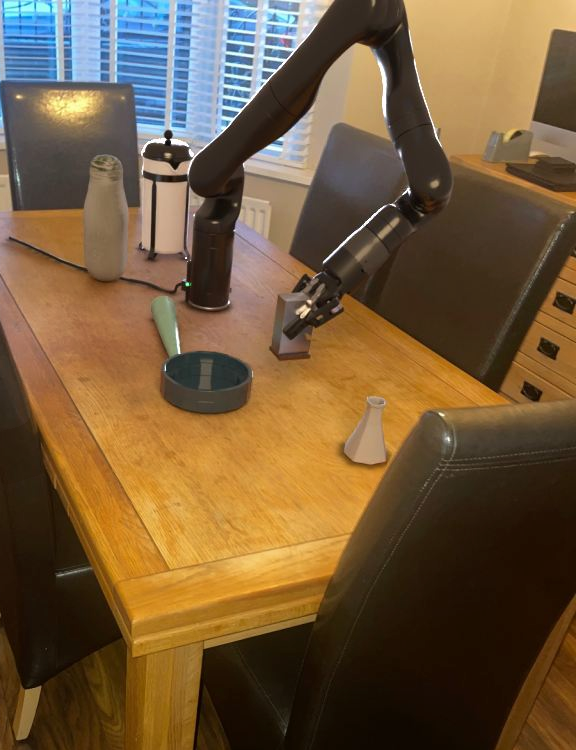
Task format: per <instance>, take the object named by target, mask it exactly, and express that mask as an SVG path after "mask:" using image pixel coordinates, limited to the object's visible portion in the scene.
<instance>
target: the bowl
mask: <svg viewBox="0 0 576 750" xmlns="http://www.w3.org/2000/svg"><path fill="white" fill-rule="evenodd" d="M249 365H250V364H248V363H247V362H246V361H244V360H242V359H240V358H239V357H236V356H233V355H230V354H227V353H224V352H219V351H214V350H213V351H211V350H191V351H189V350H188V351H183V352H181V353H180V354H176V355H174V356H172V357H170V358H169V357H167V358H166V359H165V360H164V362H162V364H161V370H160V371H161V372H160V393H161V395H162V397H163V399H165V400H166V401H167V402H169V403H170V404H171V405H173V406H176V407H177V408H180V409H182V410H185V411H188V412H192V413H197V414H209V415H212V414H222V413H227V412H230V411H233V410H236V409H239V408H241V407H243V406H244V405H245V404H247V403H248V401H249V400H250V398H251V393H252V386H253V376H254V375H253V369H252V368H251V367H250V366H249Z"/></svg>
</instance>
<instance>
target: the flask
mask: <svg viewBox="0 0 576 750" xmlns="http://www.w3.org/2000/svg"><path fill="white" fill-rule="evenodd" d="M365 404H366V407H365V411H364V413H363V416H362V418H361V419H360V421H359V423H358V424H357V426H356V427H355V429H354V430H353V432H352V434H351V435H350V436H349V437H348V439H347V440H346V441H345V444H344V449H343V453H344V454H345V455H346V456H347V457H348V458H349V459H350V460H351V461H352V462H355V463H359V464H360V463H361V464H366V465H375V464H380V463H385V462H387V461H386V460H387V448H386V442H385V437H384V430H383V423H382V422H383V421H382V420H383V411H384V408H386V405H387V400H386V399H385V398H384V397H382V396H375V395H370V396H367V397H366V403H365Z"/></svg>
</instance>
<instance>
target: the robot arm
mask: <svg viewBox="0 0 576 750" xmlns="http://www.w3.org/2000/svg"><path fill="white" fill-rule="evenodd" d="M408 20H409V19H408V14H407V9H406V5H405V0H333V1H332V2H331V4H330V5H329V7H328V8H327V9H326V11H325V12H324V14H323V15H322V16H321V18H320V19H319V20H318V21H317V23H316V25H315V26H314V27H313V28H312V30H311V31H310V32H309V33H308V35H307V36H305V39H304V40H303V41H302V42H301V43H300V44H299V45H298V46H297V47H296V48H295V50H294V51H293V52H292V53H291V54H290V55H289V56H288V58H287V59H286V60H285V61H284V62H283V63H282V64H281V65H280V66H279V67H278V68H277V70H276V71H274V73H273V74H271V76H270V77H269V78H268V79H267V80H266V81H265V83H263V84H262V86H260V88H259V89H258V90H257V91H256V93H255V94H254V95H253V96H252V97H251V99H250V100H249V101H248V102H247V103H246V104H245V105H244V107H243V108H242V109H241V110H240V111H239V112H238V113H237V114H236V115H235V117H234V118H233V119H232V120H231V122H230V123H229V124H228V125H227V127H225V129H224V130H223V131H221V132H220V134H219V135H217V136H216V137H215V138H214V139H213V140H212V141H210V143H208V144H207V145H206V146H205V147H203V149H201V150H200V151H199V152H198V153H197V154H196V155H194V156H193V160H192V162H191V164H190V167H189V171H188V182H189V186H190V191H192V193H194V194H195V195H196V196H198V197H200V198H204V200H203V202H202V204H200V207H198V209H197V210H195V212H194V214H193V218H192V222H193V223H192V239H191V254H190V259H188V260H187V262H186V278H185V279H182V280H181V282H178V283H176V284H175V286H174V288H173V290H167V289H164V288H162V287H160V286H158V285H156V284H154V283H151V282H148V281H144V280H140V279H137V278H136V279H135V278H130V277H126V276H125V277H124V276H121V277H120V278H119V279H118V280H120V281H125V282H129V283H135V284H140V285H144V286H148V287H151V288H153V289H154V290H157V291H160V292H164V293H166V294H171V295H172V294H176V293H177V292H178V289H179V287H180V291H183V292H185V295H184V299H185V300H184V303H187V304H188V305H189V306H190V307H191V308H193V309H196V310H199V311H202V312H203V311H204V312H219V311H223V310H226V309H228V308H229V306H230V294H232V287H231V284H232V283H231V282H232V269H233V260H234V259H233V258H234V249H235V248H234V246H235V236H236V235H235V234H236V225H237V221H238V219H239V218H240V214H241V210H242V203H243V196H244V189H245V180H246V167H245V163H246V162H247V161H248V160H249V159H250V158H252V157H253V156H254V155H256V154H258V153H259V152H261V151H263V150H264V149H266V148H267V147H269V146H271V145H272V144H273V143H275V142H276V141H278V140H279V139H281V138H282V137H283V136H285V135H286V134H287V133H288V132H289V131H291V130H292V129H293V127H295V126H296V125H297V124H298V123H299V122H300V121H301V119H303V118H304V117H305V116H306V114H308V113H309V112H310V110H311V109H312V108H313V106H314V105H315V103H316V100H317V99H318V96H319V93H320V90H321V88H322V84H323V81H324V80H325V79H324V78H325V76H326V75H327V73H328V71H329V70H330V69H331V67H332V66H333V65H334V63H335V62H337V60H338V59H339V58H341V57H342V55H343V54H344V53H346V52H347V51H348V50H349V49H350V48H352V47H353V46H354V45H355V44H359V45H362V46H365V47H368V48H369V49H370V51H371V53H372V55H373V56H374V58H375V60H376V62H377V65H378V67H379V70H380V74H381V77H382V86H383V88H382V113H383V119H384V124H385V127H386V130H387V133H388V137H389V138H390V142H391V145H392V148H393V151H394V153H395V156H396V158H398V159H399V161H401V164H402V167H403V170H404V174H405V176H406V180H407V184H408V188H407V189H406V191H404V192H403V193H402V194H401V195H400V196H399V197H398V198H397V199H396V200H395V201H394V202H393V203H391V204H390V203H388V204H385V205H383V206H382V207H381V208H380V209H378V210H377V211H376V212H375V213H374V214H373V215H372V216H371V217H369V219H367V221H365V222H364V223H363V224H362V226H361V227H359V228H357V230H355V231H354V232H353V233H351V234H350V235H349V236H348V237H347V238H346V239H345V240H344V241H343V242H342V243H341V244H340V245H339V246H338V247H337V248H336V249H335V250H334V251H332V253H331V254H330V255H329V256H328V257H327V258H326V259H324V261H323V262H322V265H321V266H322V268H323V269H322V270H321V272H319V273H318V274H316V275H314V277H311V276H309V274H308V273H304V274H302V276H301V277H300V279H299V280H298V282H297V283H296V285H294V288H293V289H292V290H291V292H290V293H301V292H304V293H310V294H311V295H312V298H311V299H312V300H311V301H310V302H309V303H308V305H307V306H308V307H307V308H306V309H305V310H304V311H303V313H302V314H301V315H300V318H299V317H298V318H296V319H295V320H294V321H293V322H292V323H291V324H290V325H289V326H288V327H287V328H286V329H285V330H284V334H285V335H286V336H287V337H288V338H289V339H290V340H293V339H294V338H295V337H296V336H297V335H298V334H300V333H301V332H302V331H303V330H304V329H305V328H306V327H307V326H308V327H310V326H313V329H318V328H320V327H321V326H323V325H325V324H326V323H328V322H329V321H331V320H333V319H334V318H336V317H338V316H339V315H341V314H343V313H344V311H345V307H344V306H343V304H342V302H341V300H342V299H343V297H344V296H345V294H346V295H348V296H352V295H353V294H354V293H355V292H357V290H359V289H360V288H361V287H362V286H363V285H364V284H365V283H366V282H367V281H368V280H369V279H370V278H371V277H372V276H373V275H374V274H375V273H376V272H377V271H378V270H379V269H381V267H382V266H383V265H384V264H385V263H386V262H387V260H388V259H389V258H390V257H391V256H392V255H393V254H394V253H395V252H397V250H398V249H400V247H402V245H404V243H406V241H407V240H408V239H409V238H410V237H411V236H412V235H414V234H415V233H417V232H418V231H420V230H421V229H422V228H423V227H425V226H426V225H428V224H429V223H430V222H432V221H433V220H434V219H435V218H436V217H437V216H439V214H440V213H442V212H443V210H445V208H446V207H447V206H448V204H449V202H450V201H451V197H452V193H453V189H454V183H455V181H454V173H453V169H452V167H451V164H450V161H449V159H448V157H447V154H446V153H445V151H444V149H443V146H442V145H441V142H440V141H439V139H438V136H437V131H436V129H435V126H434V123H433V120H432V117H431V114H430V111H429V108H428V105H427V102H426V100H425V97H424V92H423V90H422V86H421V83H420V79H419V74H418V71H417V66H416V60H415V56H414V55H415V54H414V49H413V45H412V39H411V34H410V27H409V21H408ZM8 240H10V241H13V242H15V243H17V244H20V245H23V246H25V247H27V248H29V249H32V250H34V251H36V252H38V253H40V254H42V255H44V256H47V257H48V258H51V259H53V260H55V261H58V262H60V263H62V264H65V265H67V266H69V267H72V268H76V269H79V270H81V271H84V272H88V270H87V268H86V266H82V265H78V264H77V263H73V262H71V261H68V260H65V259H63V258H60V257H58V256H56V255H54V254H52V253H50V252H47V251H45V250H43V249H41V248H39V247H36V246H34V245H32V244H30V243H28V242H25V241H23V240H20V239H18V238H15V237H13V236H10V235H9V236H8ZM88 273H89V272H88ZM315 305H316V306H315ZM311 311H312V312H313V313H311V314H310V312H311ZM318 318H319V319H318Z"/></svg>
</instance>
